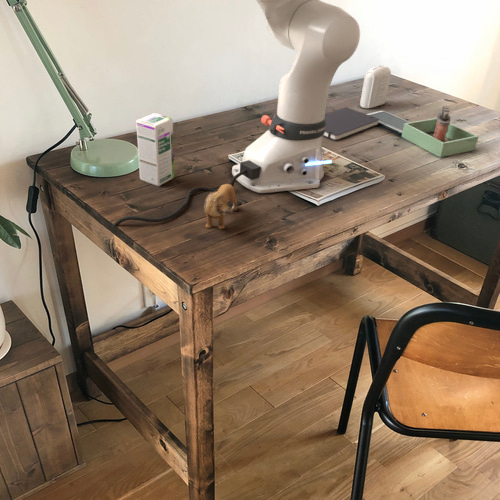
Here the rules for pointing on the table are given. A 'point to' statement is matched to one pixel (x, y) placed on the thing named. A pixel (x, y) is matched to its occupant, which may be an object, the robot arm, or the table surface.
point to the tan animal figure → (219, 204)
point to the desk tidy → (460, 137)
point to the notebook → (347, 123)
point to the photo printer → (375, 87)
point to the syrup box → (155, 149)
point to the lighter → (442, 124)
